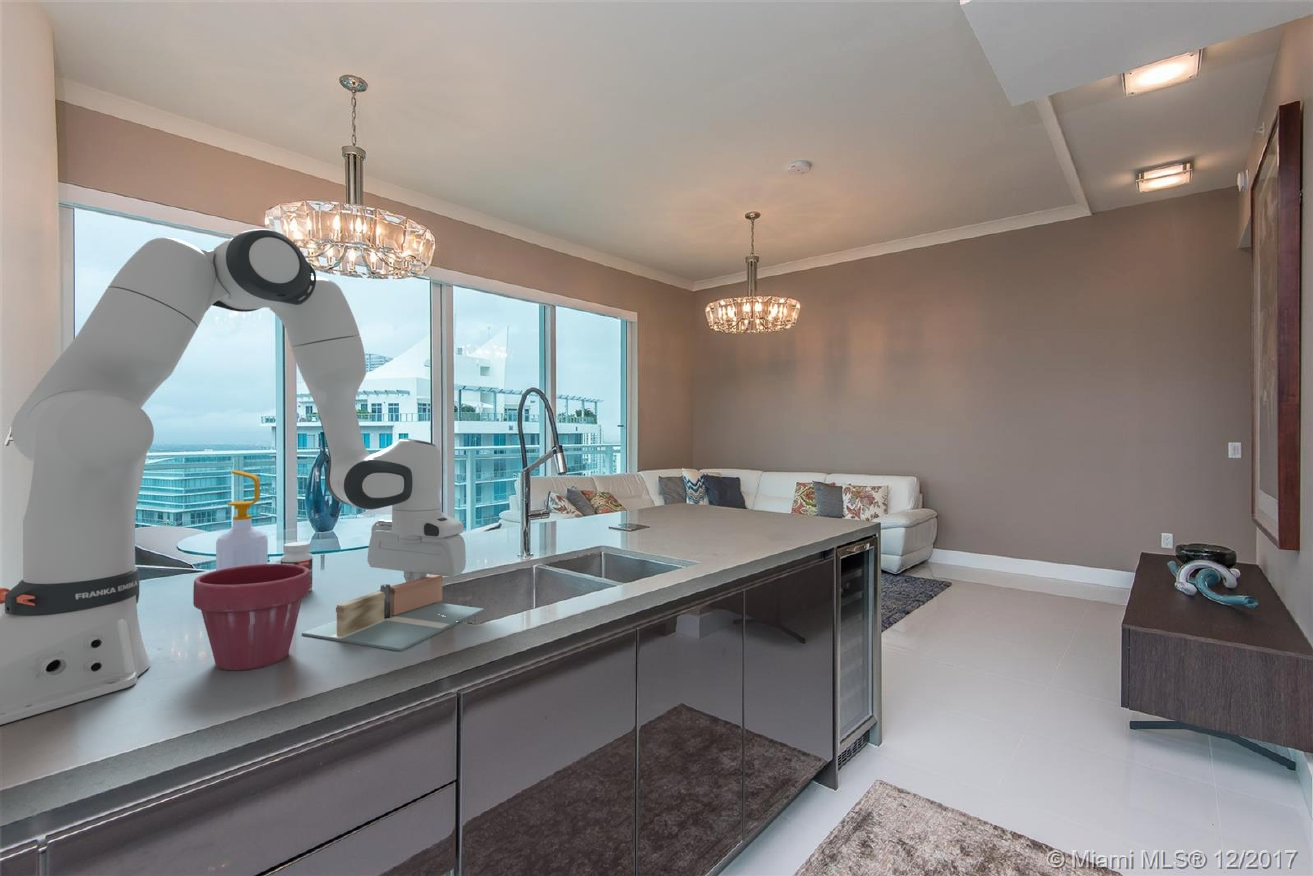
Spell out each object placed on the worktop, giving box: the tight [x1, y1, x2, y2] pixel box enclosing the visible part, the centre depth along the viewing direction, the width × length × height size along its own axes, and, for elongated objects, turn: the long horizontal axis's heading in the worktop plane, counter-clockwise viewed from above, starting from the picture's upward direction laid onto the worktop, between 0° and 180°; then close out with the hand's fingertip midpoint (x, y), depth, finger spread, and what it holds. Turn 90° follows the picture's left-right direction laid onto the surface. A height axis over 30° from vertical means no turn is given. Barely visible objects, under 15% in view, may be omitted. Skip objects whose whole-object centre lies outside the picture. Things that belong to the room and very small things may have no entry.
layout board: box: [301, 602, 485, 652], centre depth 108 cm, size 22×20×1 cm
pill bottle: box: [280, 541, 314, 592], centre depth 126 cm, size 6×6×10 cm
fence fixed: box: [335, 590, 385, 636], centre depth 104 cm, size 9×2×5 cm, turn 162°
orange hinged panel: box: [390, 574, 444, 615], centre depth 115 cm, size 11×2×5 cm, turn 152°
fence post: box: [380, 583, 391, 619], centre depth 109 cm, size 2×2×6 cm
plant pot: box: [192, 563, 310, 671], centre depth 90 cm, size 14×14×13 cm
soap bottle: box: [215, 469, 269, 571], centre depth 129 cm, size 9×9×25 cm
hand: (414, 594), depth 118 cm, fingers closed
